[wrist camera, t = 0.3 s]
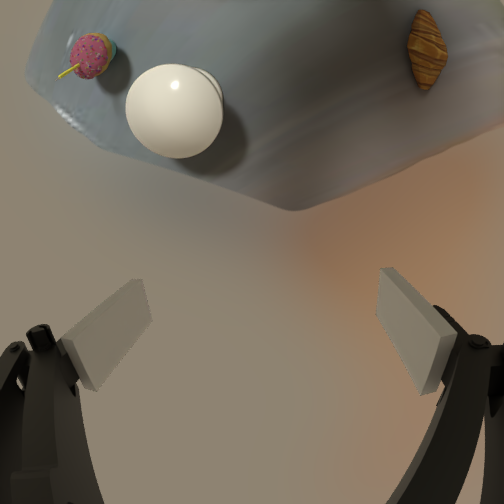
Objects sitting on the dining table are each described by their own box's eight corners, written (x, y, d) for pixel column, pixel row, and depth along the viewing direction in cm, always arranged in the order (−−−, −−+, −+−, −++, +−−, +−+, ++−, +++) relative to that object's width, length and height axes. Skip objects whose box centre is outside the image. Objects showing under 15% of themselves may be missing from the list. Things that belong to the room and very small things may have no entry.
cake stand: (135, 89, 37) (109, 105, 32) (200, 38, 30) (178, 43, 25) (184, 149, 46) (166, 172, 41) (253, 111, 39) (242, 130, 34)
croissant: (439, 91, 28) (452, 101, 25) (401, 84, 30) (412, 92, 26) (440, 15, 18) (455, 17, 15) (399, 4, 20) (411, 3, 17)
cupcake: (114, 77, 35) (70, 101, 28) (83, 62, 32) (37, 83, 25) (132, 37, 30) (85, 52, 22) (98, 23, 26) (49, 36, 19)
